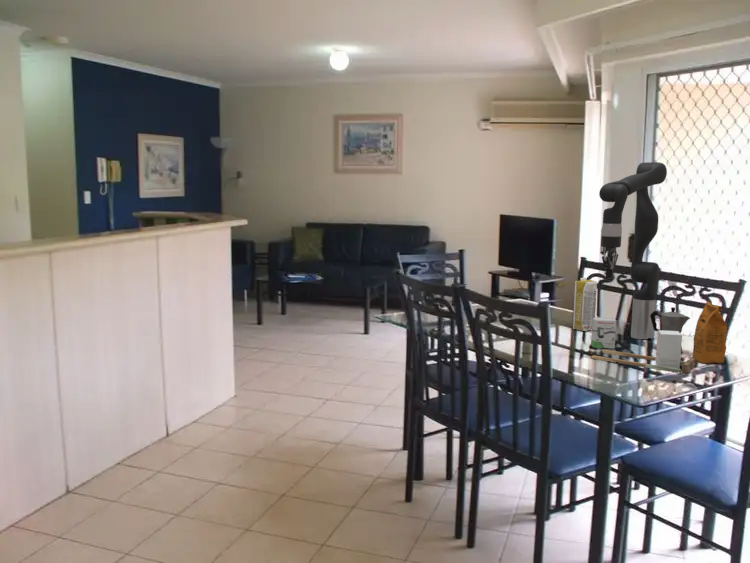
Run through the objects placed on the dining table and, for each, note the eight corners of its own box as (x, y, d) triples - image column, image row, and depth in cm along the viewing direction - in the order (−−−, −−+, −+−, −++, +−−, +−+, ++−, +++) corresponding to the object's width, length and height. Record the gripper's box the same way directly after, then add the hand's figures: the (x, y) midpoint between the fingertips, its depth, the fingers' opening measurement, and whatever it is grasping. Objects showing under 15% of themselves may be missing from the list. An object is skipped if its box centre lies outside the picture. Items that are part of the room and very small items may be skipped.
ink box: (593, 348, 277) (594, 319, 275) (590, 345, 282) (592, 317, 280) (615, 348, 276) (616, 320, 275) (611, 345, 281) (613, 317, 280)
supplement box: (680, 369, 246) (682, 335, 244) (658, 367, 248) (660, 333, 246) (676, 363, 253) (678, 330, 251) (655, 362, 255) (657, 329, 253)
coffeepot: (691, 352, 270) (694, 308, 268) (682, 356, 264) (685, 311, 261) (653, 345, 281) (655, 303, 279) (643, 349, 275) (646, 305, 272)
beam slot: (603, 351, 271) (603, 344, 270) (695, 365, 250) (695, 357, 250) (591, 358, 260) (591, 350, 260) (686, 373, 240) (686, 365, 239)
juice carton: (582, 327, 317) (584, 276, 314) (597, 329, 311) (599, 278, 308) (570, 329, 311) (572, 277, 308) (585, 332, 305) (587, 279, 302)
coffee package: (715, 357, 264) (720, 301, 260) (727, 365, 251) (732, 307, 248) (688, 355, 265) (692, 300, 262) (699, 364, 253) (703, 306, 250)
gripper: (615, 236, 261) (613, 280, 264) (626, 234, 272) (623, 277, 274) (596, 235, 266) (593, 279, 268) (607, 233, 276) (605, 275, 279)
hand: (609, 278), depth 271 cm, fingers closed
